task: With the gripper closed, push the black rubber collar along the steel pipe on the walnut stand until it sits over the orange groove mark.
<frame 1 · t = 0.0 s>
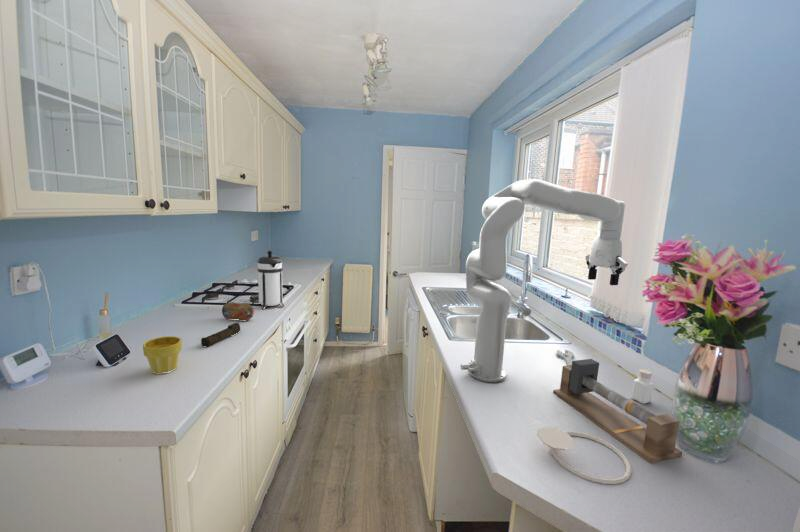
hand: (602, 282, 131), 31 cm above the counter, tool pointing down, fingers open, 9 cm apart
pipe stand: (608, 419, 98), on the counter
tin: (238, 320, 169), on the counter
hand towel holder: (580, 458, 84), on the counter
coffee press: (269, 305, 194), on the counter
collar: (583, 376, 107), point 8 cm above the counter, slide at 0.0 cm
plant pot: (164, 370, 117), on the counter
adjustable wrench: (567, 366, 133), on the counter
salt shaker: (640, 400, 110), on the counter
hand tool: (222, 339, 145), on the counter
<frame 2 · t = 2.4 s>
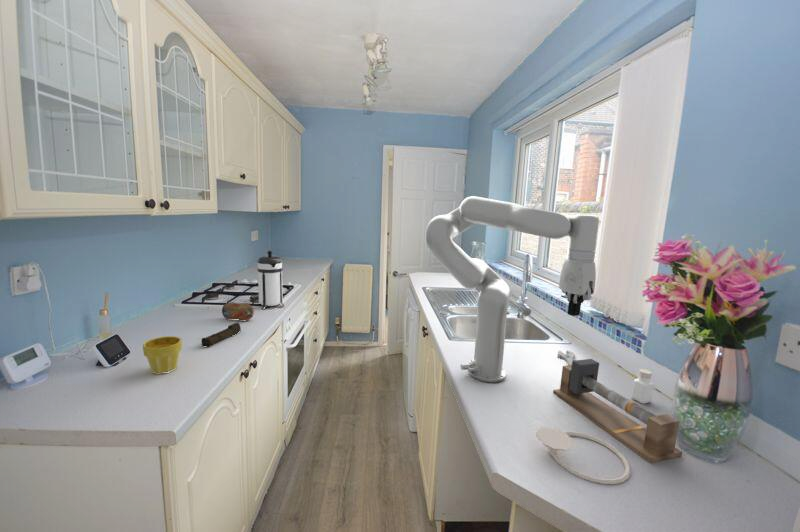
hand: (573, 314, 110), 25 cm above the counter, tool pointing down, fingers closed
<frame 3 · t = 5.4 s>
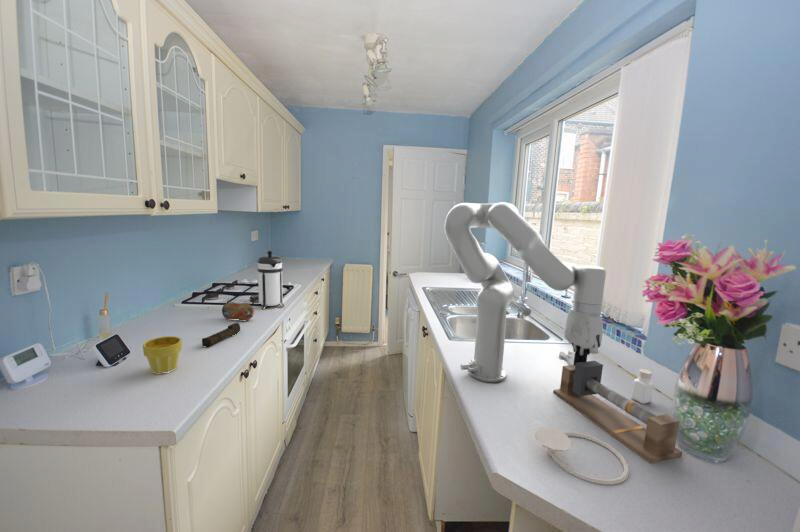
hand: (579, 365, 108), 10 cm above the counter, tool pointing down, fingers closed
collar: (587, 378, 105), point 8 cm above the counter, slide at 1.3 cm, touching gripper
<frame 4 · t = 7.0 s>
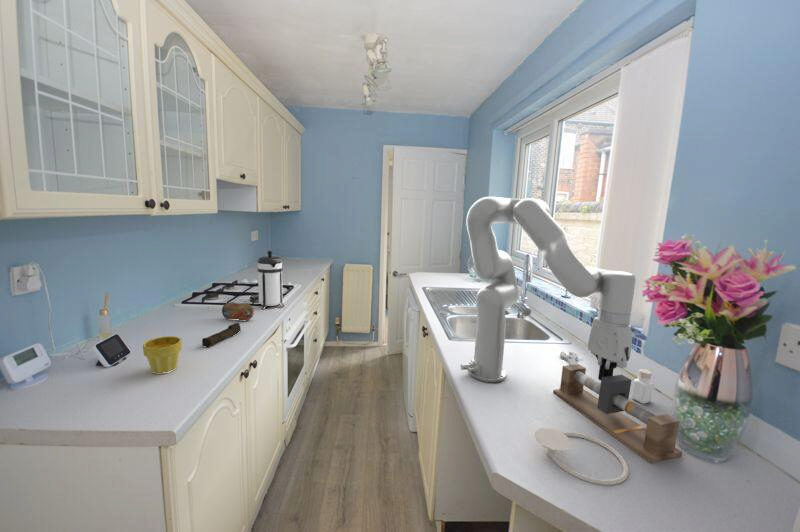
hand: (604, 380, 100), 10 cm above the counter, tool pointing down, fingers closed
collar: (614, 394, 97), point 8 cm above the counter, slide at 10.5 cm, touching gripper
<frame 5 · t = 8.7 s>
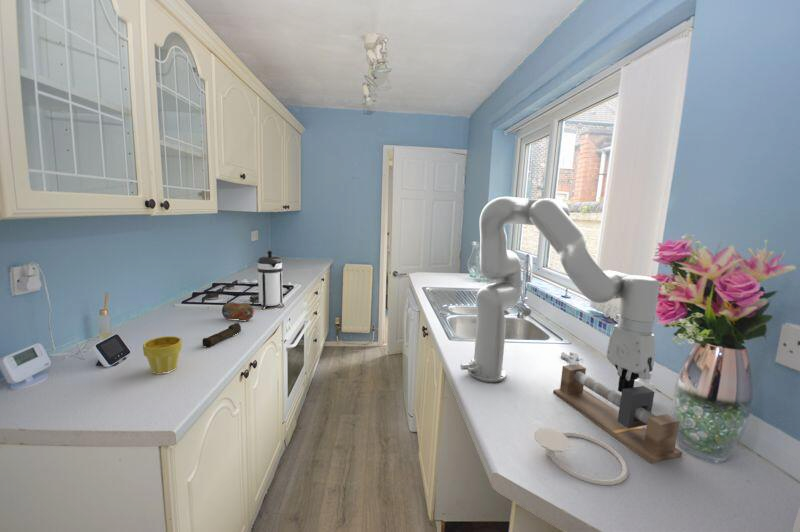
hand: (625, 391, 94), 10 cm above the counter, tool pointing down, fingers closed
collar: (635, 406, 91), point 8 cm above the counter, slide at 16.9 cm, touching gripper
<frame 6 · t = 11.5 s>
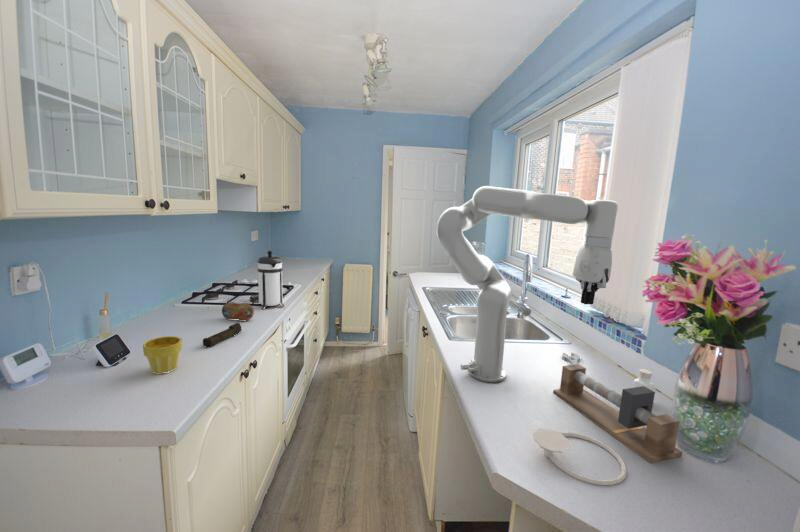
hand: (586, 303, 108), 29 cm above the counter, tool pointing down, fingers closed
collar: (636, 407, 91), point 8 cm above the counter, slide at 17.0 cm
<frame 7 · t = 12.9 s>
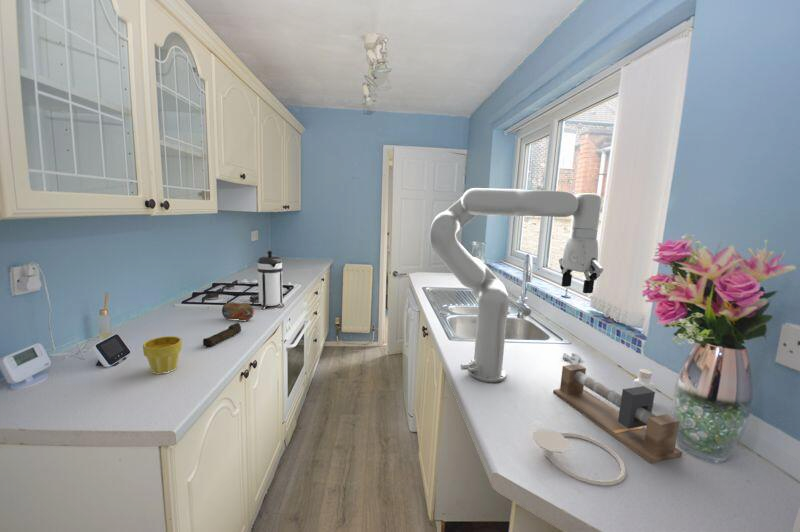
hand: (576, 289, 113), 32 cm above the counter, tool pointing down, fingers open, 8 cm apart
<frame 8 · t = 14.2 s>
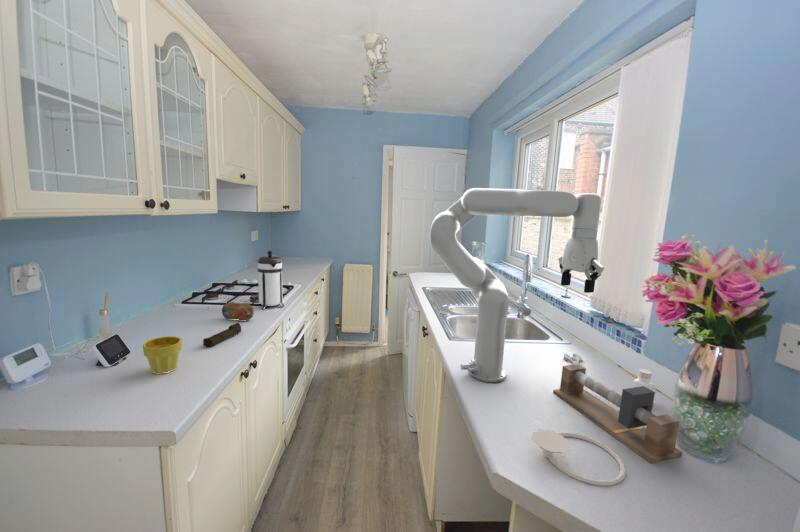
hand: (576, 288, 113), 32 cm above the counter, tool pointing down, fingers open, 9 cm apart
at the end: collar slide at 17.0 cm; salt shaker moved 0.2 cm from its start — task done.
